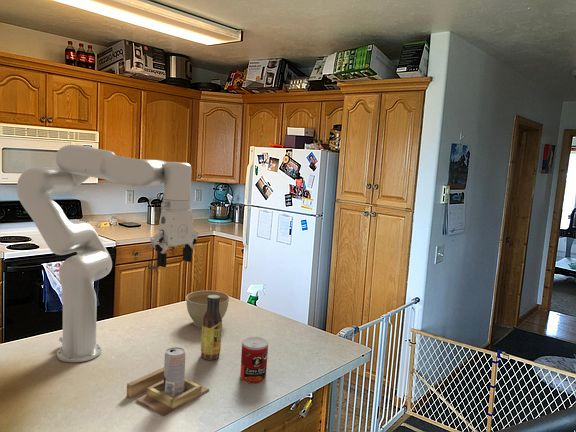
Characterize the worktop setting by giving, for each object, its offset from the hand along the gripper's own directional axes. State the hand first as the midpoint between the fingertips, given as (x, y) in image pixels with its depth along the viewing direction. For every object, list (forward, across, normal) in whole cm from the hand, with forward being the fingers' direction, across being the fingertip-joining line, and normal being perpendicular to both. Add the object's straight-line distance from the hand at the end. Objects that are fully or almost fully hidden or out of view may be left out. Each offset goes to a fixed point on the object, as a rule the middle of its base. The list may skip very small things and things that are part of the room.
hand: (174, 263), depth 131 cm
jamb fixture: (+32, -10, -10) cm, 35 cm away
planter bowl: (+32, +33, +17) cm, 49 cm away
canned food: (+32, +12, -22) cm, 41 cm away
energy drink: (+32, -10, -12) cm, 36 cm away
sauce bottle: (+32, +14, -3) cm, 36 cm away
